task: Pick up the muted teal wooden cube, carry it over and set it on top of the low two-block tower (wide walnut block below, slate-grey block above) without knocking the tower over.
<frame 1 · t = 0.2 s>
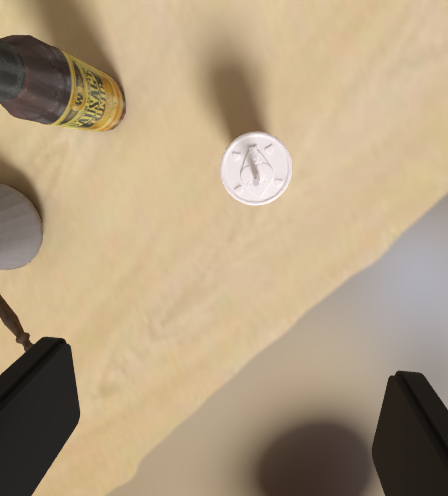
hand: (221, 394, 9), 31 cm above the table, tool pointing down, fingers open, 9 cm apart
coffee pot: (45, 244, 44), on the table
smoothie: (257, 162, 37), on the table
sauce bottle: (104, 102, 37), on the table
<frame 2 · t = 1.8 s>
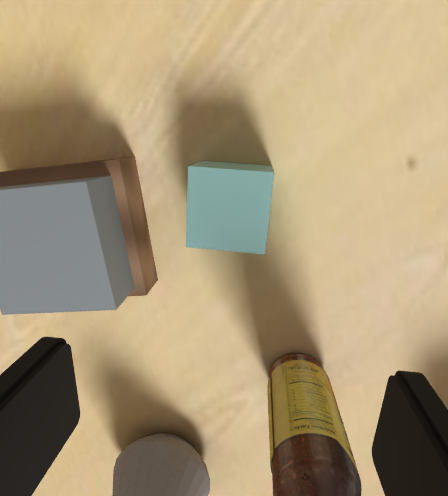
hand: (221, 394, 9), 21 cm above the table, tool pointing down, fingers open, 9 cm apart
top block: (69, 238, 28), point 3 cm above the table, touching bottom block
bottom block: (91, 225, 32), on the table, touching top block
teal cube: (234, 197, 29), on the table
coffee pot: (198, 476, 41), on the table
sauce bottle: (297, 371, 34), on the table
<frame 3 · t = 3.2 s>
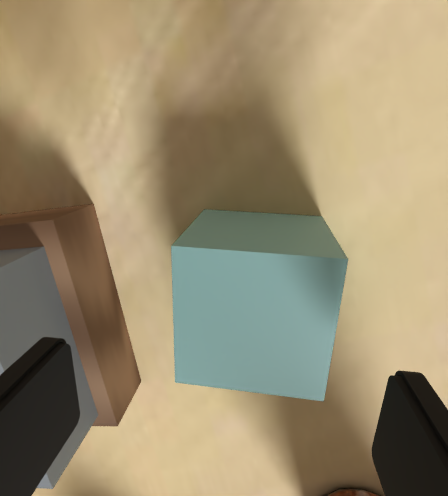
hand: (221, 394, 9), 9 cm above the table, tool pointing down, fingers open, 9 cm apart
bottom block: (37, 302, 21), on the table, touching top block
teal cube: (258, 266, 18), on the table
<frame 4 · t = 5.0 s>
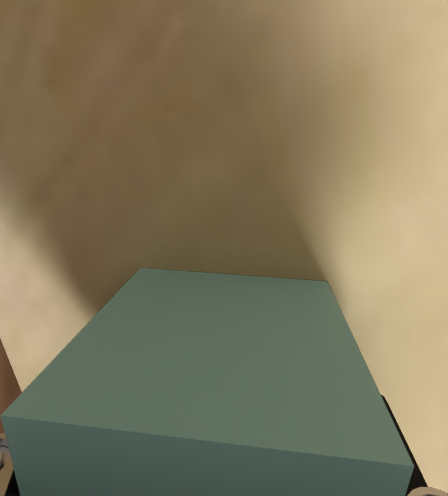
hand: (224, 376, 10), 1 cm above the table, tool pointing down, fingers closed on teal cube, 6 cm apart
teal cube: (228, 353, 11), on the table, touching gripper
when the fingers open (10 cm above the table, at t = 9.7 s): teal cube drops 1 cm, point 7 cm above the table.
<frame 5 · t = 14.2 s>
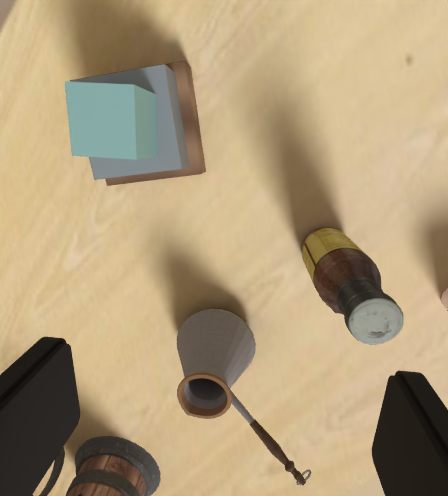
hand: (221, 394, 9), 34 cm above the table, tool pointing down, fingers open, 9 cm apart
top block: (140, 127, 37), point 3 cm above the table, touching bottom block
bottom block: (153, 128, 41), on the table, touching top block
teal cube: (128, 124, 33), point 7 cm above the table
coffee pot: (243, 351, 50), on the table
sauce bottle: (324, 245, 43), on the table
tankard: (104, 459, 61), on the table
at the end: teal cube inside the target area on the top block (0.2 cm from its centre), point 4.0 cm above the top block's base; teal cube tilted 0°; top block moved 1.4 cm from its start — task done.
